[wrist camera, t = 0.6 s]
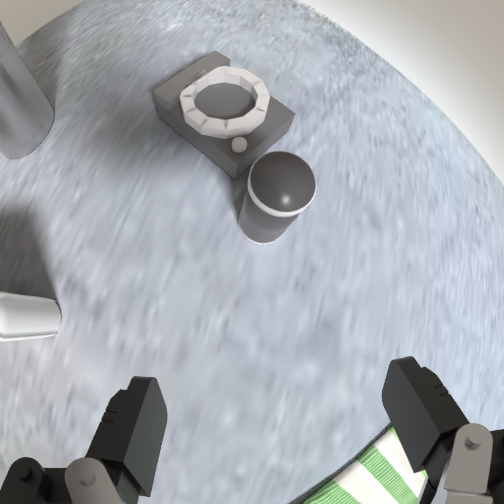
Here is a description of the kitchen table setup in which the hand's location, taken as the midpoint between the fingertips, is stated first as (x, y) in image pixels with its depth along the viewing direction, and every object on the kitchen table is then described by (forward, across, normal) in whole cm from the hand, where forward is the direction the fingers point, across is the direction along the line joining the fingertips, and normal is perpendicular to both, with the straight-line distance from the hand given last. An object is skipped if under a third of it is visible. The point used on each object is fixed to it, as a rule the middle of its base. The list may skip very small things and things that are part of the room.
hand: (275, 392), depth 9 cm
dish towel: (+7, -14, +31) cm, 35 cm away
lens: (+22, -1, 0) cm, 22 cm away
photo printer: (+15, +25, +6) cm, 30 cm away
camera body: (+28, +3, -11) cm, 30 cm away
